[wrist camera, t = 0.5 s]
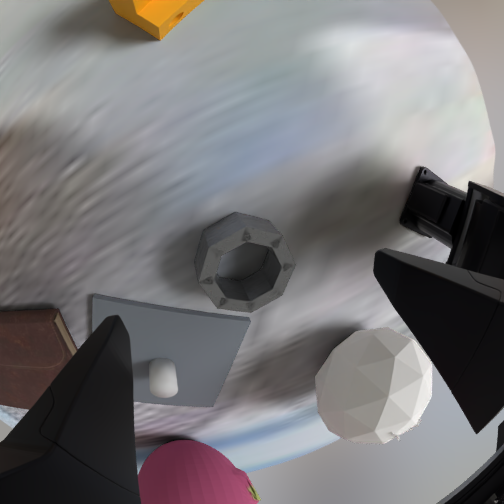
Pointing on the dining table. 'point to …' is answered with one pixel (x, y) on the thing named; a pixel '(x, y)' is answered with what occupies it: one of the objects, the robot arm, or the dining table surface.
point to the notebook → (31, 354)
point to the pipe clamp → (154, 13)
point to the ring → (256, 285)
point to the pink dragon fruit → (193, 477)
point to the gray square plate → (175, 350)
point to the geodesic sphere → (374, 386)
